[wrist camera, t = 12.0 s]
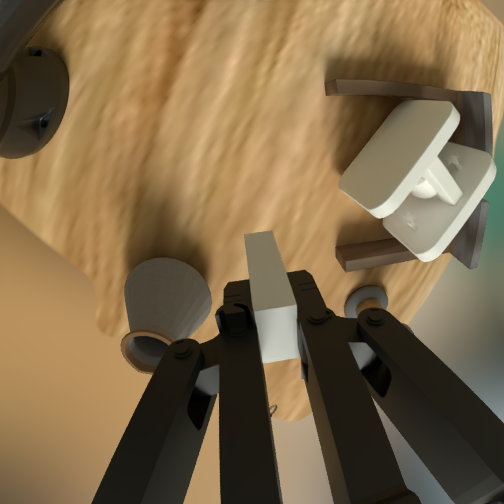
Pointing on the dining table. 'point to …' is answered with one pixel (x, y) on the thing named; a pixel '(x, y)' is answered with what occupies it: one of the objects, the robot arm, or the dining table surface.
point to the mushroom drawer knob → (366, 301)
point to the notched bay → (467, 134)
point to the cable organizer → (419, 176)
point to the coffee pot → (162, 309)
